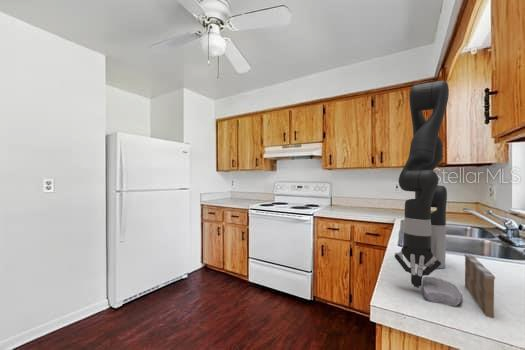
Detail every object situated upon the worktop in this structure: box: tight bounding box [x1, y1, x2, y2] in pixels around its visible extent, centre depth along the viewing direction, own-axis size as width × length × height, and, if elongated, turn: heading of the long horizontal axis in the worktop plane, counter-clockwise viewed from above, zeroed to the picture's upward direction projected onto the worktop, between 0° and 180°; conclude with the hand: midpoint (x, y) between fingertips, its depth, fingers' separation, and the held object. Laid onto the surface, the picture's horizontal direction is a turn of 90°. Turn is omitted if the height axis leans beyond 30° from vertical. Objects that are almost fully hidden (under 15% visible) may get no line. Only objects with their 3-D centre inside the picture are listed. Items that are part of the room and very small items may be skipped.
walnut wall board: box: [464, 253, 496, 319], centre depth 71 cm, size 20×2×11 cm, turn 152°
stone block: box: [421, 275, 463, 308], centre depth 73 cm, size 12×5×10 cm
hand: (416, 286), depth 76 cm, fingers closed
